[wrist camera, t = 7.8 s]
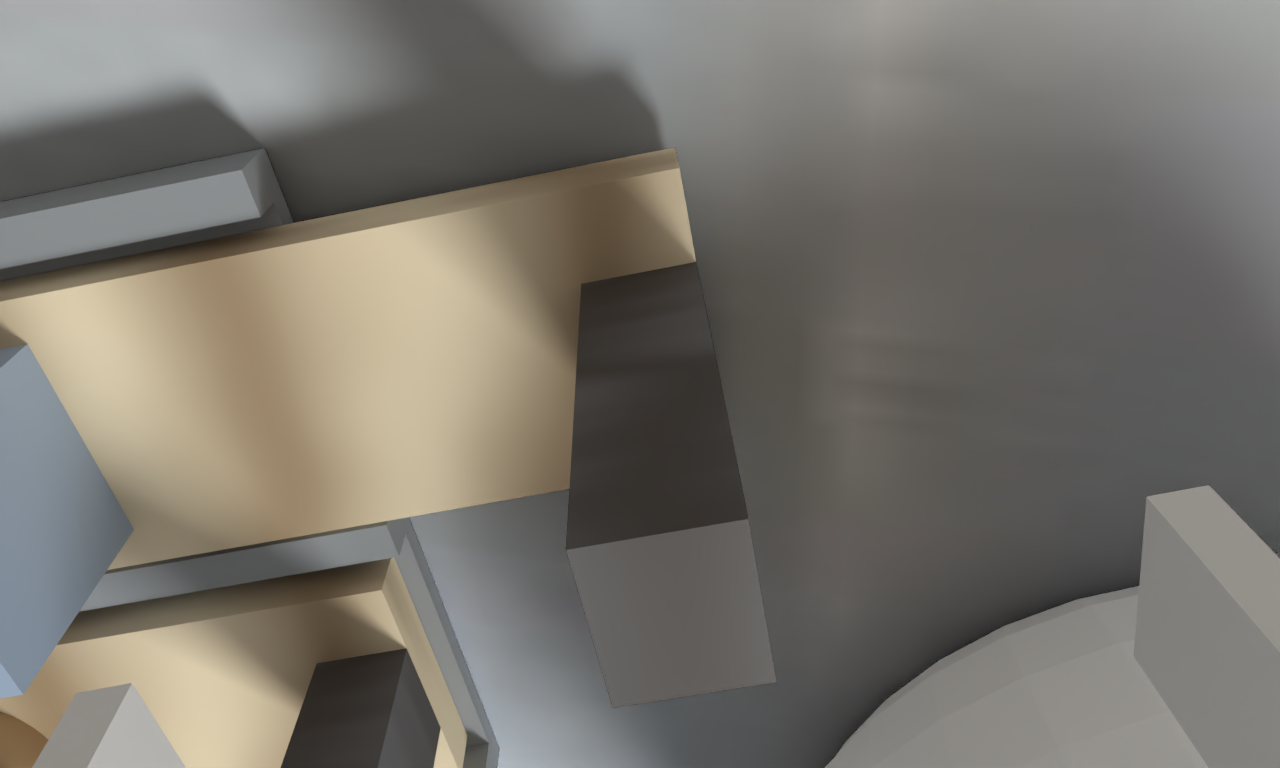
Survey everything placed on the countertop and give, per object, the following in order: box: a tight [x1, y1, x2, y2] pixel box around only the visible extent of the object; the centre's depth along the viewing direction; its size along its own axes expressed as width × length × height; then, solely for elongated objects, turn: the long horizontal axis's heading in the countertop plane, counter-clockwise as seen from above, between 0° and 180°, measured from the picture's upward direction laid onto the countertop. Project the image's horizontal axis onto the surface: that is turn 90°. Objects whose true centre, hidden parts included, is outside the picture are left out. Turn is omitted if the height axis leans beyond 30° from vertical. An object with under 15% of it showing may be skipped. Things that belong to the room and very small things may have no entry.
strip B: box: [0, 147, 776, 708], centre depth 18 cm, size 21×7×10 cm, turn 101°
